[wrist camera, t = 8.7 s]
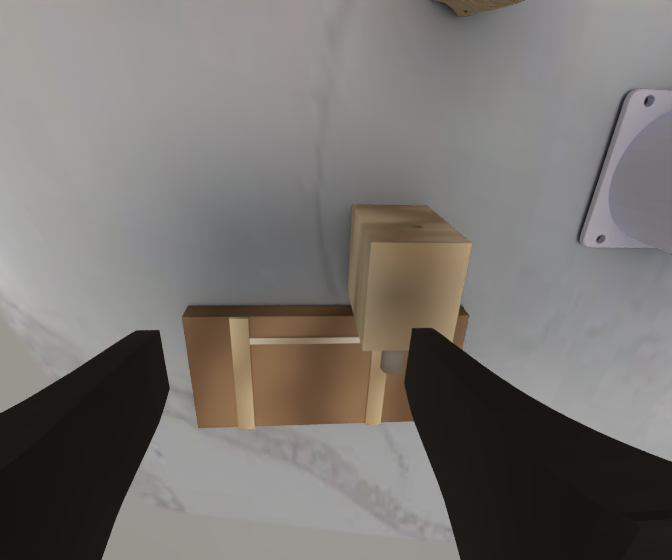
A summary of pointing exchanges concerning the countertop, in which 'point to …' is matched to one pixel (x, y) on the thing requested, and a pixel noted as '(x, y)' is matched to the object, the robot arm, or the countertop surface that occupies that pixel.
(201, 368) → the walnut board
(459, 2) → the handle
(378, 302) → the pale wood holed block
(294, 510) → the countertop surface
